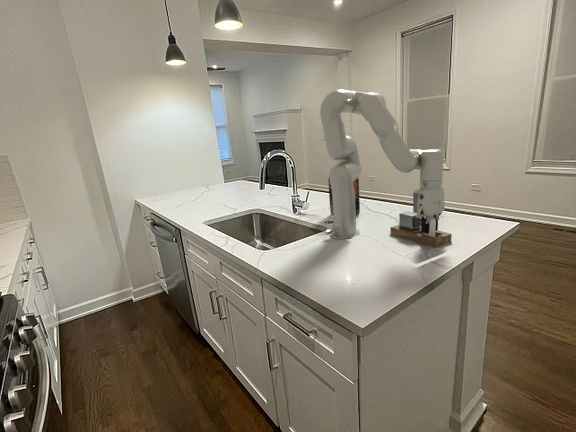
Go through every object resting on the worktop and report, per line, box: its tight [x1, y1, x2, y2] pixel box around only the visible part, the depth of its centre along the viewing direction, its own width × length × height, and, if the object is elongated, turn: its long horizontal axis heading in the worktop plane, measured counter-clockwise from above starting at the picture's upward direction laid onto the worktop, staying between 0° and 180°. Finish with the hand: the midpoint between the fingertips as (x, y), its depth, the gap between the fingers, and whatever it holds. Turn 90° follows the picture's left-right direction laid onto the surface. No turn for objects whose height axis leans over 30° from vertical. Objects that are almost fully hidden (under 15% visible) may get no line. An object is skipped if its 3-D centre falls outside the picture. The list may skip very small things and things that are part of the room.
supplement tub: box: [327, 166, 361, 217], centre depth 167 cm, size 16×16×26 cm
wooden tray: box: [390, 224, 453, 249], centre depth 125 cm, size 10×21×4 cm, turn 29°
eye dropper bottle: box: [423, 216, 436, 237], centre depth 120 cm, size 4×6×12 cm
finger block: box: [398, 210, 421, 231], centre depth 128 cm, size 4×7×9 cm, turn 29°
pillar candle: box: [412, 188, 425, 217], centre depth 149 cm, size 10×10×15 cm
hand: (429, 230), depth 121 cm, fingers closed on eye dropper bottle, 4 cm apart
